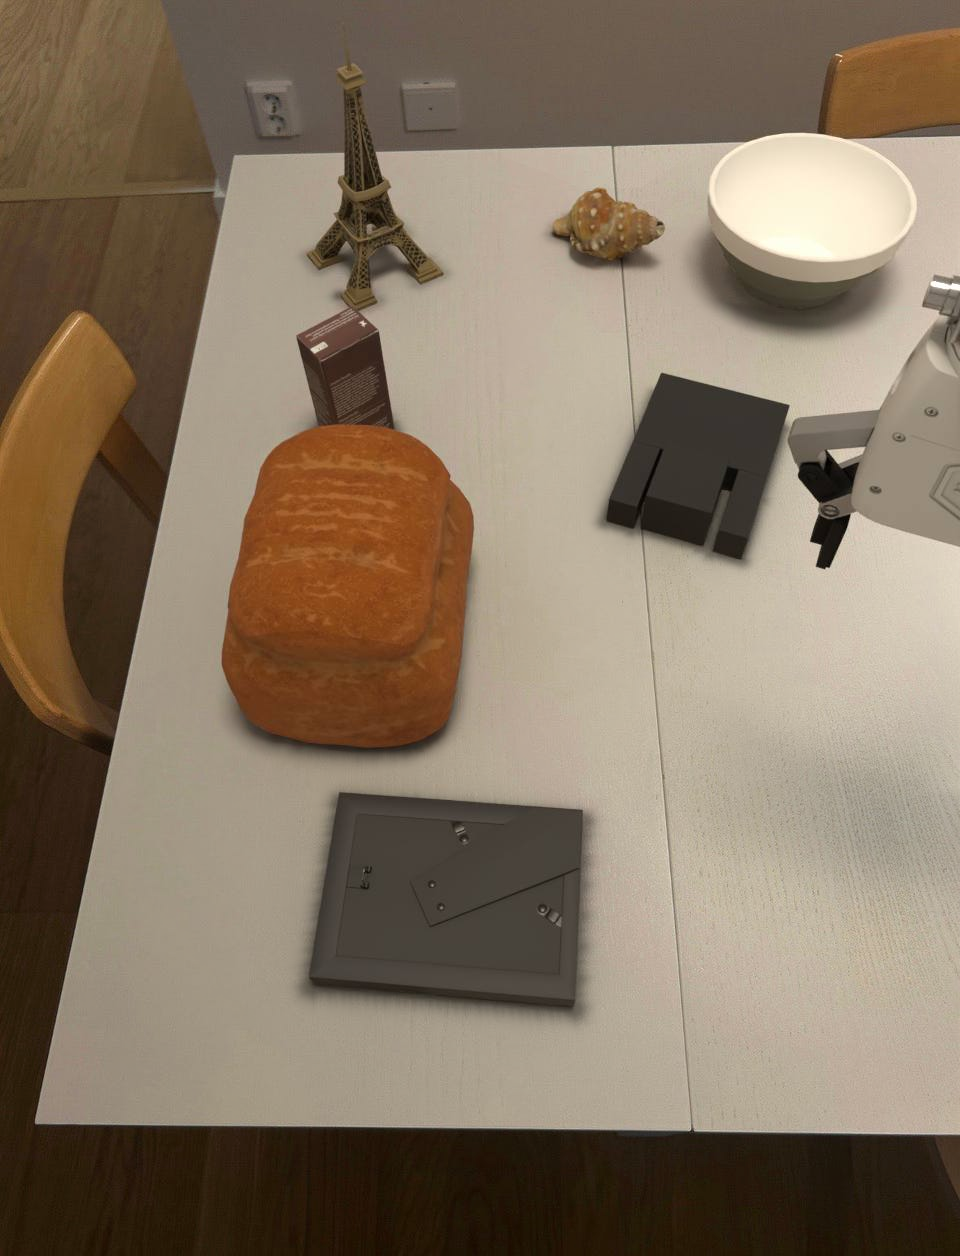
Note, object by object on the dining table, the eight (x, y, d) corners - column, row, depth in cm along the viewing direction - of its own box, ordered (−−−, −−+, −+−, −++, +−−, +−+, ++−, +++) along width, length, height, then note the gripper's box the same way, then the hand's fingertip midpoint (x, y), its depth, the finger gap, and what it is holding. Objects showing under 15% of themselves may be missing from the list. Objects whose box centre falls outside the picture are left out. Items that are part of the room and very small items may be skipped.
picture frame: (581, 819, 78) (342, 802, 79) (583, 807, 76) (338, 790, 77) (574, 1007, 71) (312, 984, 72) (575, 999, 69) (306, 976, 70)
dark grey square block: (721, 491, 94) (730, 457, 90) (703, 545, 91) (711, 513, 87) (660, 475, 95) (666, 440, 92) (640, 528, 92) (645, 495, 88)
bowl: (828, 198, 116) (853, 115, 108) (923, 314, 106) (958, 233, 98) (663, 237, 113) (675, 155, 105) (745, 361, 103) (765, 281, 95)
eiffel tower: (393, 220, 115) (368, -22, 94) (443, 274, 110) (428, 32, 89) (307, 255, 112) (260, 14, 91) (353, 312, 108) (316, 72, 86)
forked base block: (782, 427, 98) (790, 404, 96) (741, 559, 90) (748, 538, 88) (657, 395, 101) (661, 372, 98) (606, 520, 93) (608, 498, 90)
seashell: (634, 246, 117) (682, 194, 108) (609, 302, 114) (656, 253, 105) (563, 199, 115) (606, 141, 106) (536, 255, 112) (578, 201, 103)
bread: (232, 743, 82) (174, 627, 68) (284, 524, 93) (244, 384, 79) (457, 760, 81) (446, 645, 67) (482, 535, 92) (477, 396, 78)
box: (369, 403, 101) (353, 302, 91) (395, 430, 99) (383, 331, 89) (315, 432, 99) (293, 333, 89) (341, 461, 97) (322, 363, 87)
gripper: (821, 340, 43) (741, 581, 57) (1289, 451, 39) (1078, 679, 54) (855, 226, 46) (772, 481, 61) (1287, 319, 43) (1090, 566, 57)
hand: (916, 573), depth 57 cm, fingers open, 9 cm apart
